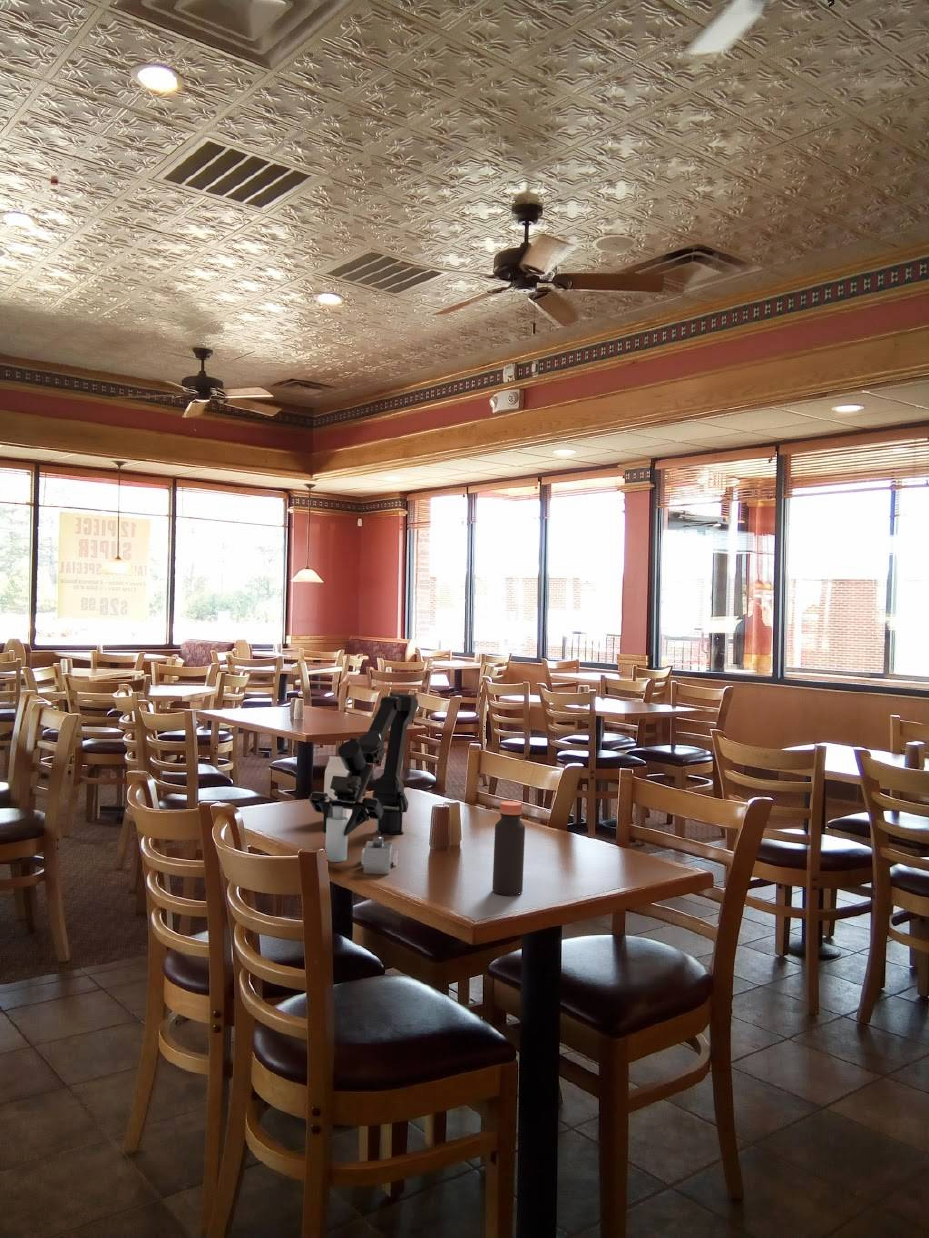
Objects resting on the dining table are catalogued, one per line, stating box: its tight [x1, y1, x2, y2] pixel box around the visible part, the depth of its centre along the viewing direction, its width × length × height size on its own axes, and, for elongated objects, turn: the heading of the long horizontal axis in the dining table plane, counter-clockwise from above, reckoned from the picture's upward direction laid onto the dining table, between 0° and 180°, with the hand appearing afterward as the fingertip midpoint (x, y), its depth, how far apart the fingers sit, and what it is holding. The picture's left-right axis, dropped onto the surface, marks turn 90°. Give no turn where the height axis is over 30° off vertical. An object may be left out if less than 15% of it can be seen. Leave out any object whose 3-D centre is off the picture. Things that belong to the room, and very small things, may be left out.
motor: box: [360, 835, 399, 875], centre depth 231 cm, size 12×9×8 cm
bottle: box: [491, 800, 526, 896], centre depth 215 cm, size 7×7×20 cm
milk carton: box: [323, 755, 352, 821], centre depth 280 cm, size 7×7×19 cm
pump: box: [324, 806, 349, 863], centre depth 237 cm, size 5×5×13 cm
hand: (334, 833), depth 236 cm, fingers closed on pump, 5 cm apart
